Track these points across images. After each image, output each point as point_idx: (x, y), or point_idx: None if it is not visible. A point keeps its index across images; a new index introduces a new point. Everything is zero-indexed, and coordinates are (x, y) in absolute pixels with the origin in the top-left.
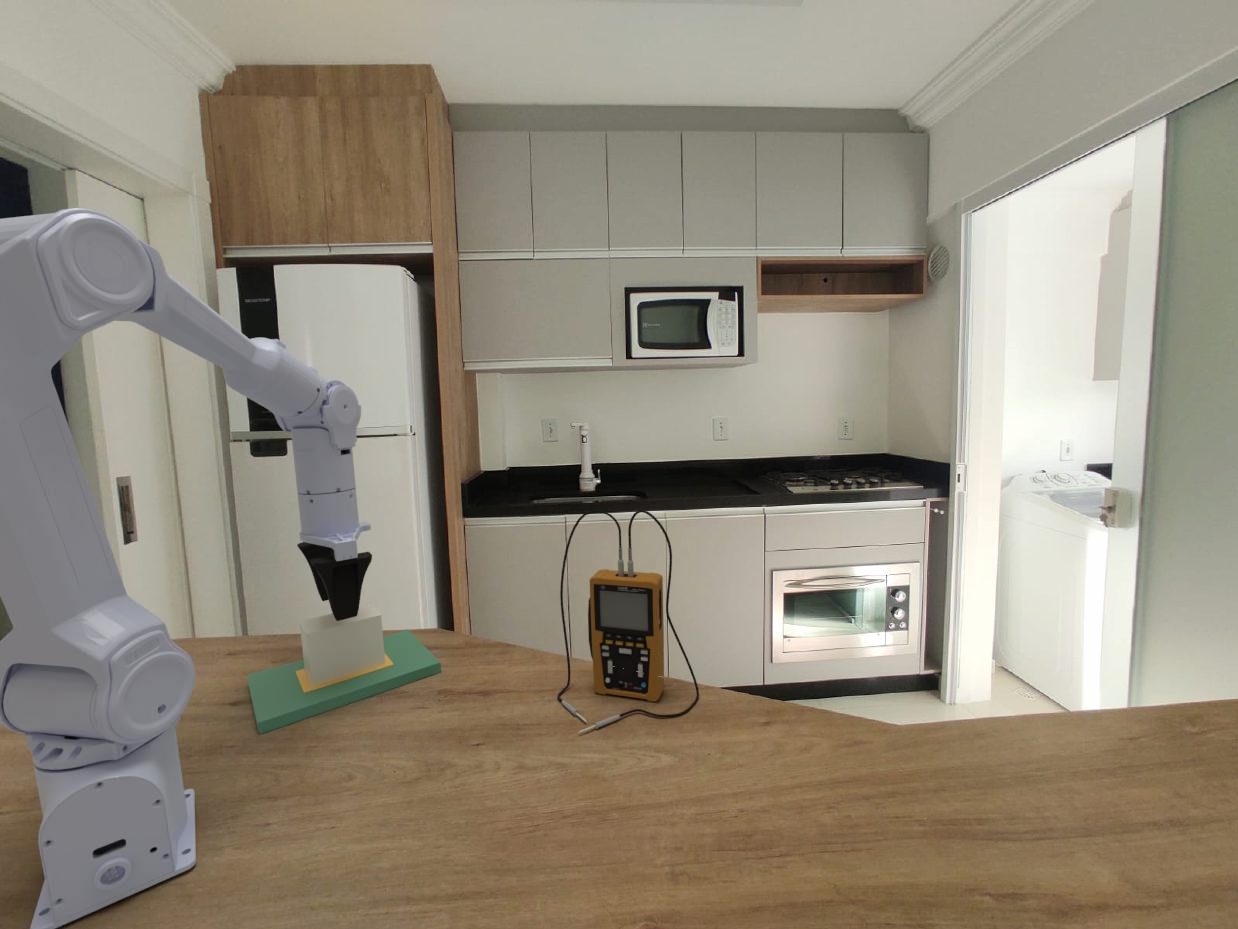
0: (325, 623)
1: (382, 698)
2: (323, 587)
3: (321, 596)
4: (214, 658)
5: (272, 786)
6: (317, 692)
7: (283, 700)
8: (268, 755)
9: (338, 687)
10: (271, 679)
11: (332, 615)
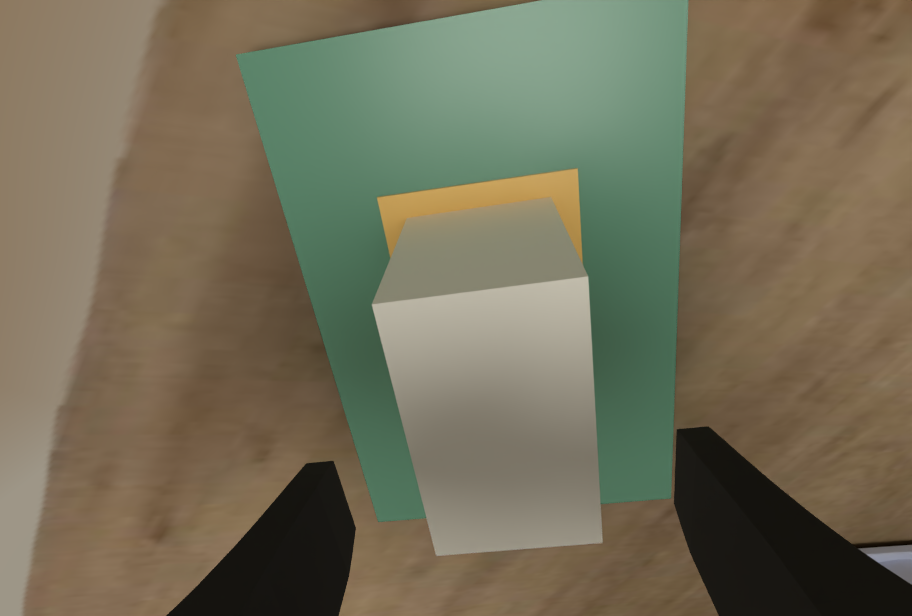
0: (525, 487)
1: (706, 218)
2: (331, 586)
3: (348, 553)
4: (175, 559)
5: (898, 452)
6: (607, 390)
7: None
8: (768, 460)
9: (617, 342)
10: None
11: (438, 461)
